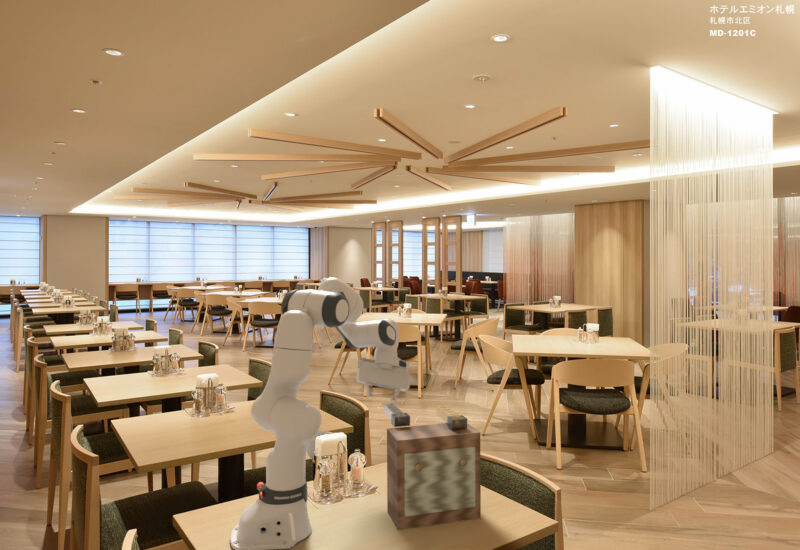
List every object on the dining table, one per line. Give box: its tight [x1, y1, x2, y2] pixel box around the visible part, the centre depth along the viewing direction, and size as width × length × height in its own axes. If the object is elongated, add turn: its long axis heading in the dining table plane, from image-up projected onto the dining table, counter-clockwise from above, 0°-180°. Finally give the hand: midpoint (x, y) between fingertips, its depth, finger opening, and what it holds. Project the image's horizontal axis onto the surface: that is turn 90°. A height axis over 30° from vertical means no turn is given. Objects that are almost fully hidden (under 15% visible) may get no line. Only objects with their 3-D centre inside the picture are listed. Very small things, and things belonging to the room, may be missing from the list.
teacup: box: [306, 430, 333, 464], centre depth 209 cm, size 12×15×10 cm
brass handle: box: [435, 404, 468, 430], centre depth 170 cm, size 5×17×3 cm, turn 16°
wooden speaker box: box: [386, 422, 482, 531], centre depth 161 cm, size 26×14×26 cm, turn 106°
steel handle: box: [383, 402, 411, 428], centre depth 174 cm, size 5×17×3 cm, turn 16°
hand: (381, 398), depth 192 cm, fingers open, 8 cm apart
